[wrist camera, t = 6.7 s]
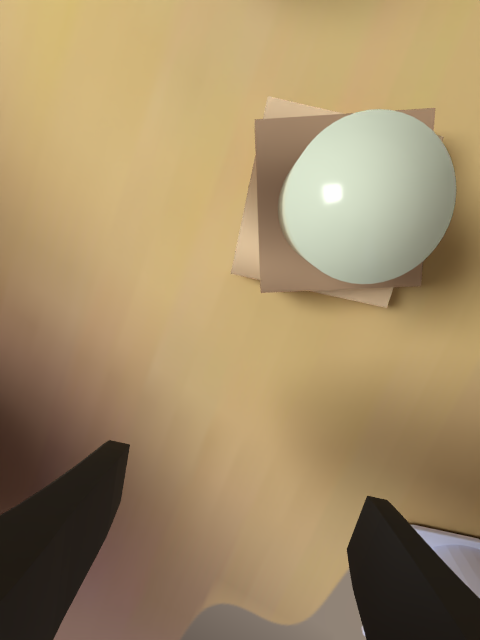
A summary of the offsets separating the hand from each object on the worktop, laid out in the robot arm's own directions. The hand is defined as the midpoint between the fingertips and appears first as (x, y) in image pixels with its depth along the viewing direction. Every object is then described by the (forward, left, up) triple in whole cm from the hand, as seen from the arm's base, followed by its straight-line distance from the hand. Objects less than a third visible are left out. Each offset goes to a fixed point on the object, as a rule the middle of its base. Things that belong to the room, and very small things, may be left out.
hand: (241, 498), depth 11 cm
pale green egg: (+9, -2, -7) cm, 12 cm away
